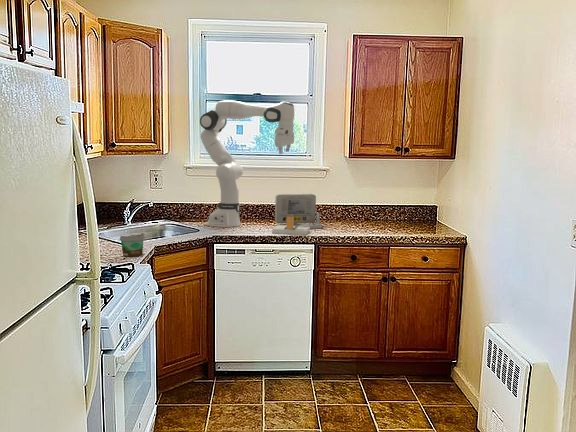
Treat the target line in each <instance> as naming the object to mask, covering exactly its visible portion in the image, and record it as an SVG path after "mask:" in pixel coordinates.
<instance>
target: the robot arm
mask: <svg viewBox="0 0 576 432" xmlns="http://www.w3.org/2000/svg"><path fill="white" fill-rule="evenodd" d="M253 117H263V118H264V120H265V121H266V122H268V123H270V124H273V123H278V126H277V128H276V129H275V130H274V134H275V136H274V146H275V147H277V148H278V149H277V150H278V154H279V155H282V154H283V153H284V151H283V147H286V148H285V152H290V148H291V145H292V144H294V143H295V132H294V119H295V105H294V104H293V103H291V102H289V101H281V102H280V103H277V104H274V105H270V106H264V105H256V104H255V105H254V104H250V103H246V102H243V101H237V100H229V99H227V100H219V101H218V102H217V103H216V106H215V108H214V110H213V109H212V110H209V111H207V112H205V113H204V114H202V115H201V116H200V119H199V124H200V127H202V128H203V129H204V130H203V131H202V132H200V140H201V142H202V145H203V147H204V149H205V150H206V152H207V153H208V155H209V157H210V158H211V160H212V161H213V162H214V163H215V164H216V165H217V166H218V167H217V168H216V170H215V176H216V178H217V179H218V184H219V188H220V202H219V203H217V209H215V210H214V211H213V212H211V213H210V214H209V215H208V221H205V222H204V225H205V226H208V227H219V228H230V227H232V228H233V227H238V226H241V220H240V203H239V198H240V197H239V189H238V186H237V182H236V180H238V179H240V178H241V177H242V176H243V173H244V168H243V166H242V165H241V164H240V163H238V161H237V160H236V159H235V158H234V157H233V156H232V155H231V153H230V152H229V151H228V150H227V148H226V146H225V144H224V143H223V141H222V140H221V138H220V136H219V133H221V132H222V130H223V129H224V128H225V127H226V125H227V123H228V122H227V121H228V120H243V119H244V120H245V119H248V118H253ZM227 119H228V120H227Z"/></svg>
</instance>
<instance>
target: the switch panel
mask: <svg viewBox="0 0 576 432" xmlns="http://www.w3.org/2000/svg"><path fill="white" fill-rule="evenodd" d="M271 230H272V231H271V232H272V234H281V235H295V236H298V235H299V236H300V235H301V236H306V235H308V233H309V232H310V231H311V229H310V227H302V226H298V225H296V226H294V228H293V229H287V225H280V224H277V225H276V226H274V227H273V228H272V229H271Z"/></svg>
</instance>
